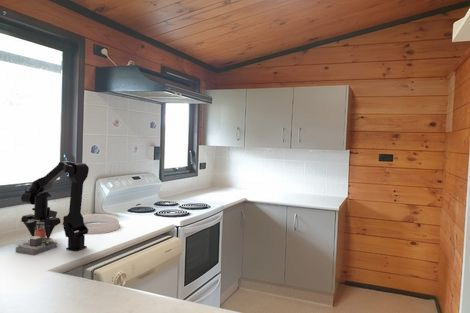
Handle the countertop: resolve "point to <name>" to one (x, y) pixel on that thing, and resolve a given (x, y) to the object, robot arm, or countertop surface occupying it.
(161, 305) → the countertop surface
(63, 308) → the countertop surface
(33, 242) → the block
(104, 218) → the pale pink ring
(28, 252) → the breaker panel
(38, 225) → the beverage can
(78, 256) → the countertop surface
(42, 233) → the cap
